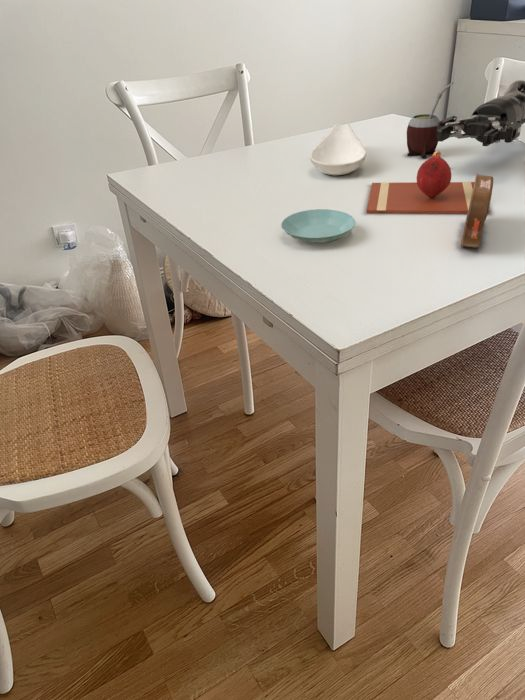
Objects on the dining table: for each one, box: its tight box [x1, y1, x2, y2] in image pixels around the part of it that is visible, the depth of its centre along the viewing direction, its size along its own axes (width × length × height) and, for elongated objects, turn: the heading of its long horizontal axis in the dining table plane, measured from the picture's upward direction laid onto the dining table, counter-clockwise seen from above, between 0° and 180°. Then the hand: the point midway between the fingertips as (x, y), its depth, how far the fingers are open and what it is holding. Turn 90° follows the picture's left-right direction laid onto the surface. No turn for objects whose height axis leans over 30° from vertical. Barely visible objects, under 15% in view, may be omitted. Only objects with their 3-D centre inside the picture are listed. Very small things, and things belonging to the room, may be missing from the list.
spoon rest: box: [309, 123, 367, 176], centre depth 118 cm, size 24×12×7 cm, turn 170°
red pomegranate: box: [416, 150, 452, 198], centre depth 94 cm, size 6×6×8 cm
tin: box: [460, 173, 494, 249], centre depth 80 cm, size 15×3×8 cm, turn 159°
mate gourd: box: [406, 81, 454, 160], centre depth 116 cm, size 8×8×15 cm
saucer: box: [280, 208, 356, 244], centre depth 87 cm, size 12×12×2 cm
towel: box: [365, 181, 490, 215], centre depth 97 cm, size 20×15×1 cm
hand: (461, 138), depth 97 cm, fingers open, 8 cm apart
